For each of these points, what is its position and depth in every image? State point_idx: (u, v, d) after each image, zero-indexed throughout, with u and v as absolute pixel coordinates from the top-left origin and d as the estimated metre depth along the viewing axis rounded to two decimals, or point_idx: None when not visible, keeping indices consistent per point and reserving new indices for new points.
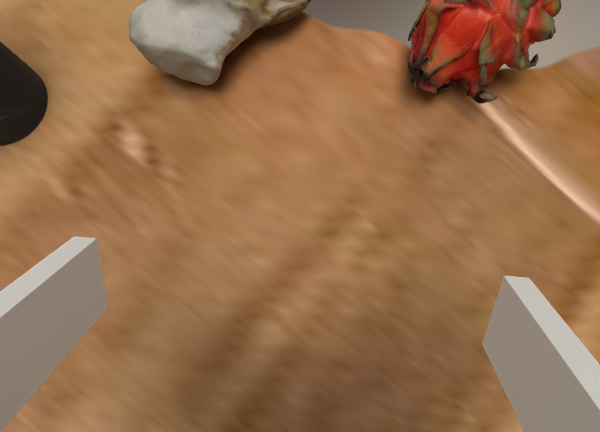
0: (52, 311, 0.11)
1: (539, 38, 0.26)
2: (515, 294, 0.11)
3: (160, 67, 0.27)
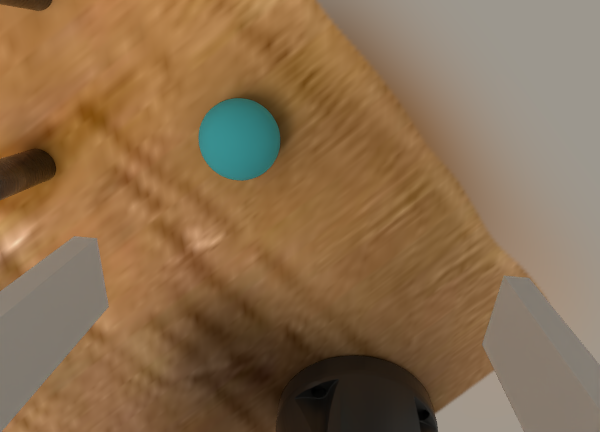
0: (52, 311, 0.11)
1: None
2: (515, 294, 0.11)
3: None
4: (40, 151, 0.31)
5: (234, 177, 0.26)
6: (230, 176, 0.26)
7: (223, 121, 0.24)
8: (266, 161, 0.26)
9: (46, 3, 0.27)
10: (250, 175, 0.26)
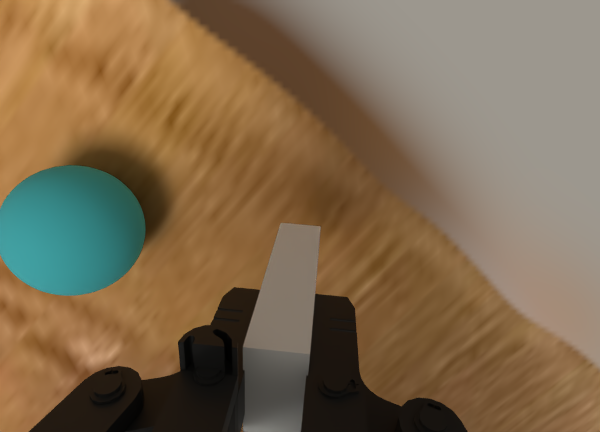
0: None
1: None
2: (298, 236, 0.14)
3: None
4: None
5: (68, 295, 0.16)
6: (61, 294, 0.16)
7: (12, 218, 0.14)
8: (110, 265, 0.16)
9: None
10: (92, 289, 0.16)
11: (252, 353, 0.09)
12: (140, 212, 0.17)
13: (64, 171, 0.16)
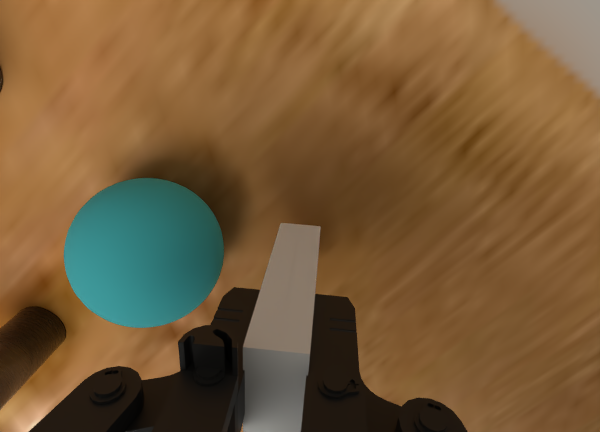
0: None
1: None
2: (298, 236, 0.14)
3: None
4: (37, 311, 0.20)
5: None
6: None
7: None
8: None
9: None
10: None
11: (252, 353, 0.09)
12: (66, 249, 0.13)
13: (142, 181, 0.14)
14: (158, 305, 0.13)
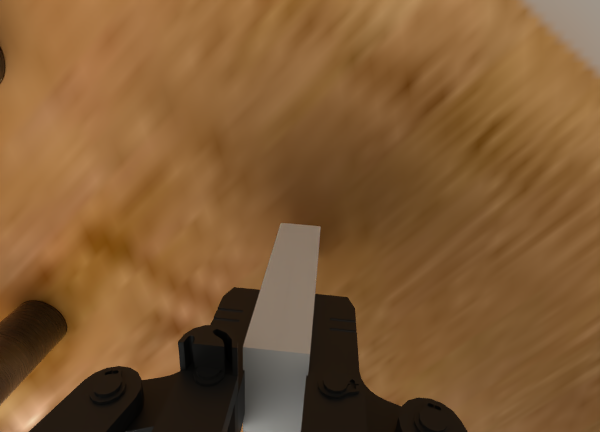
0: None
1: None
2: (298, 236, 0.14)
3: None
4: (38, 305, 0.19)
5: None
6: None
7: None
8: None
9: None
10: None
11: (252, 353, 0.09)
12: None
13: None
14: None
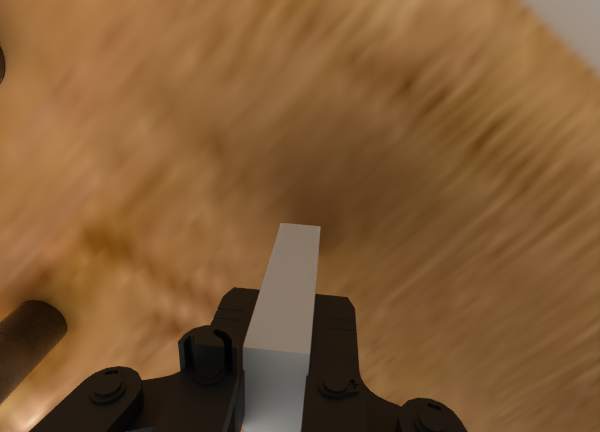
0: None
1: None
2: (298, 236, 0.14)
3: None
4: (38, 305, 0.19)
5: None
6: None
7: None
8: None
9: None
10: None
11: (252, 353, 0.09)
12: None
13: None
14: None
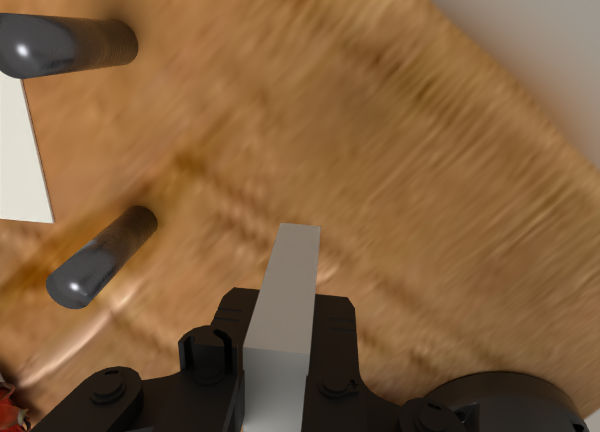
0: None
1: None
2: (298, 236, 0.14)
3: None
4: (140, 208, 0.29)
5: None
6: None
7: None
8: None
9: (133, 56, 0.25)
10: None
11: (252, 353, 0.09)
12: None
13: None
14: None
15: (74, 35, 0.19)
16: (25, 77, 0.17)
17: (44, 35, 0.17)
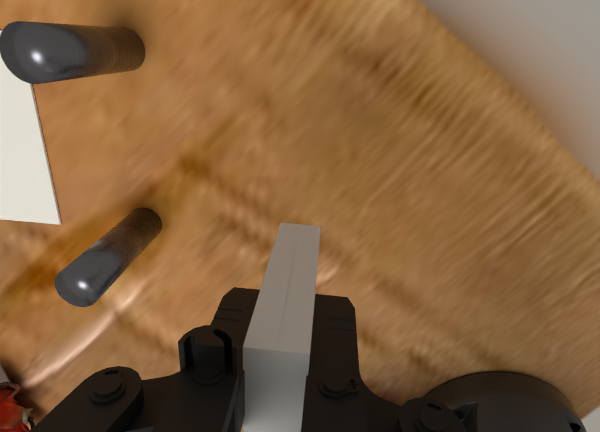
0: None
1: None
2: (298, 236, 0.14)
3: None
4: (146, 210, 0.30)
5: None
6: None
7: None
8: None
9: (140, 62, 0.26)
10: None
11: (252, 353, 0.09)
12: None
13: None
14: None
15: (85, 42, 0.20)
16: (39, 82, 0.18)
17: (58, 43, 0.18)
